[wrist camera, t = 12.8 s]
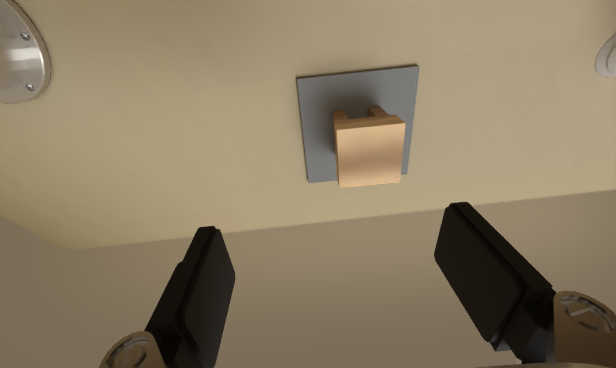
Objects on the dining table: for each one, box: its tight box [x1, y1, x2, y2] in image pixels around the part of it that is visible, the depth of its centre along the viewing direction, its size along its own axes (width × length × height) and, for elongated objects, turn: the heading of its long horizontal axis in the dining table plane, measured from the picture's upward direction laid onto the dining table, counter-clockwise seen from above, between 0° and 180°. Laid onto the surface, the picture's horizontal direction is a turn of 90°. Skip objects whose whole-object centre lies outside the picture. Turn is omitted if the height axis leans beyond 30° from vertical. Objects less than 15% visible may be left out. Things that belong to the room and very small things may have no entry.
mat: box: [297, 66, 420, 183], centre depth 33 cm, size 14×14×1 cm
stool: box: [333, 106, 406, 188], centre depth 29 cm, size 6×6×8 cm
